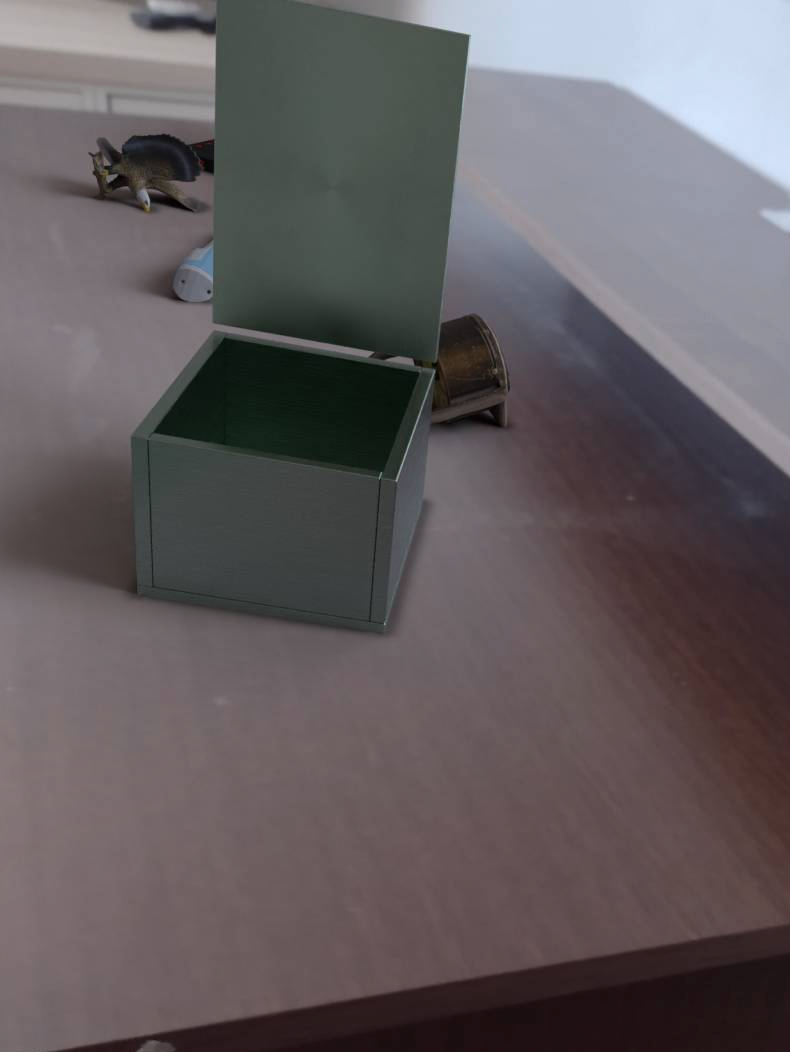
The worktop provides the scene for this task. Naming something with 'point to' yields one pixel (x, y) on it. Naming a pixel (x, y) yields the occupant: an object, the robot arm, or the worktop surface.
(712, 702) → the worktop surface
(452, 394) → the mechanical counter
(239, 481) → the green box
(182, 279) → the blue and white cylinder
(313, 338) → the box lid
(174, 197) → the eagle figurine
